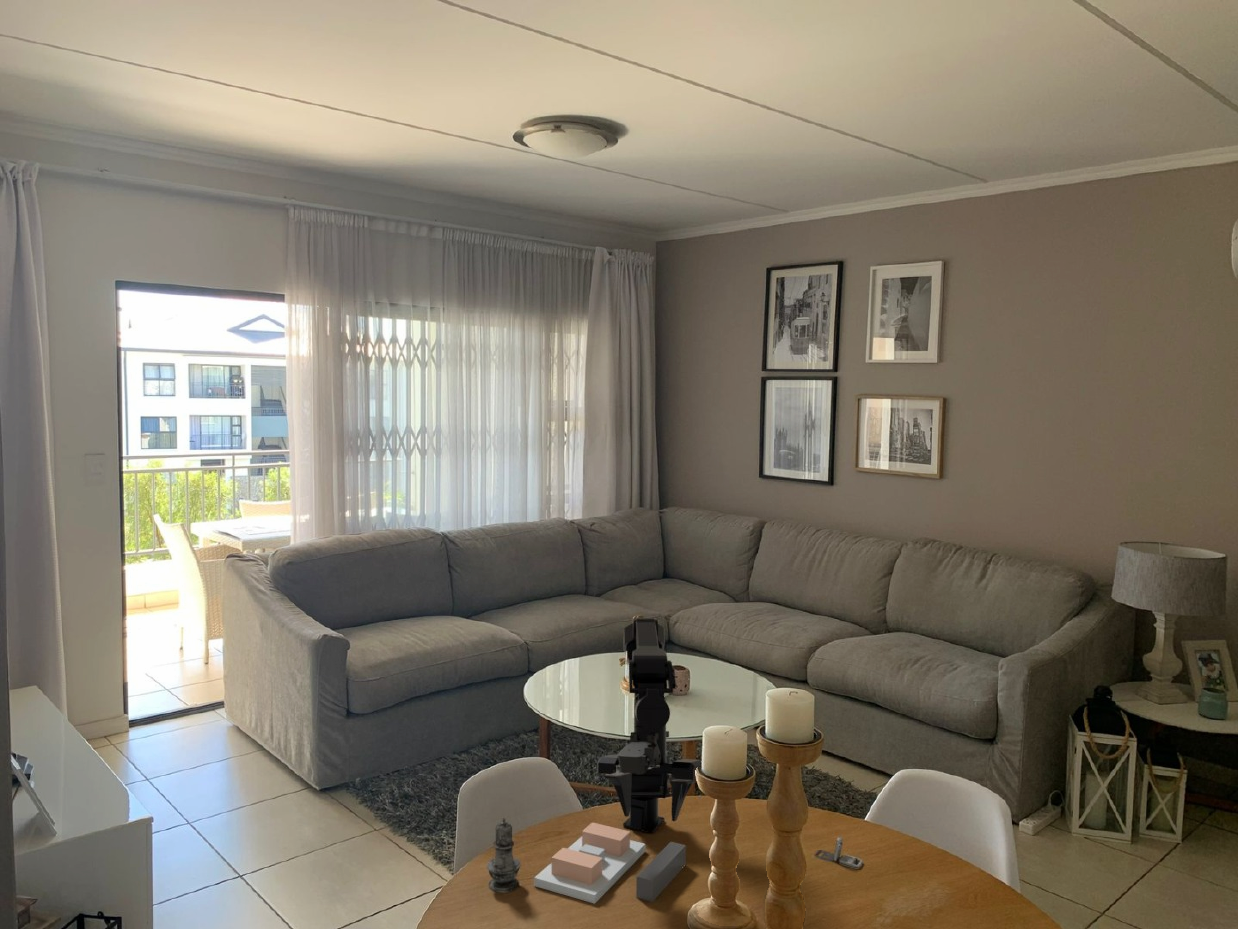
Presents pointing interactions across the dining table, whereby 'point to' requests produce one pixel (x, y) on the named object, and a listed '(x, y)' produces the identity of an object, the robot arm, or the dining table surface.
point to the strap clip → (843, 860)
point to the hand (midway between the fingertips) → (650, 818)
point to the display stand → (591, 863)
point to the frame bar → (660, 871)
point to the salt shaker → (503, 861)
